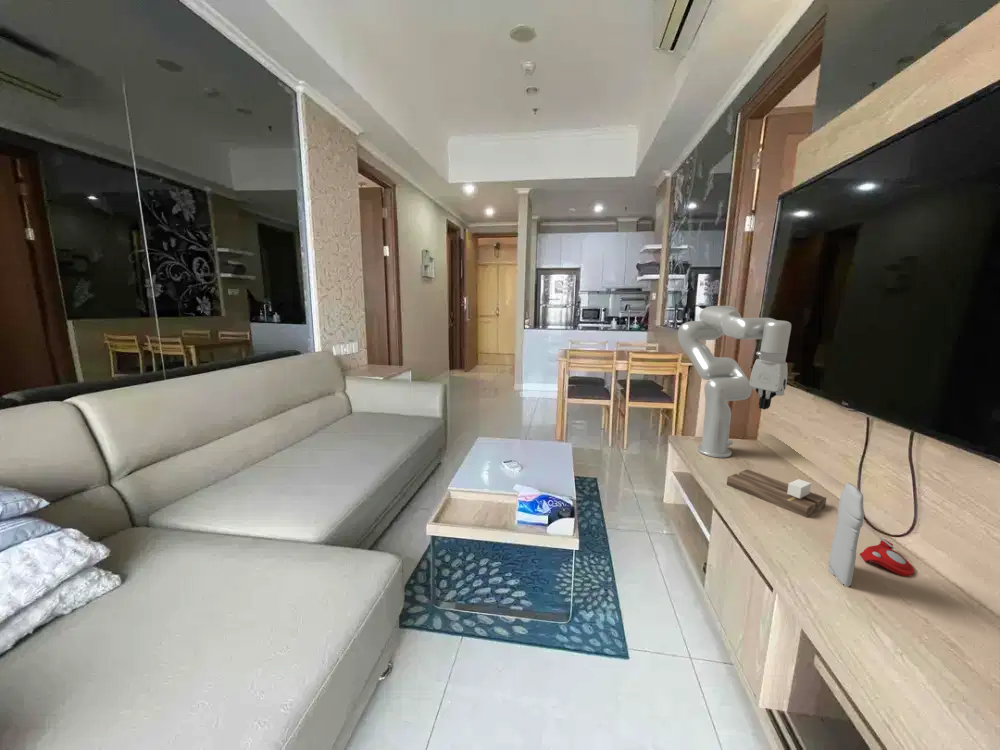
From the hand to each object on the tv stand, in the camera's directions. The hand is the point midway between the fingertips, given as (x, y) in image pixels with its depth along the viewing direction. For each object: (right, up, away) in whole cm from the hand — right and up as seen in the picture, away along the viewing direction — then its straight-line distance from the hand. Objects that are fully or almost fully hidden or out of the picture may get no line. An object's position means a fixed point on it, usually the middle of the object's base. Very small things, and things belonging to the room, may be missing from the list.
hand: (763, 408), depth 141 cm
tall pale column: (-12, -35, -46) cm, 60 cm away
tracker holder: (+3, -35, -42) cm, 55 cm away
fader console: (-3, -28, -9) cm, 29 cm away
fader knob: (0, -27, -15) cm, 31 cm away
